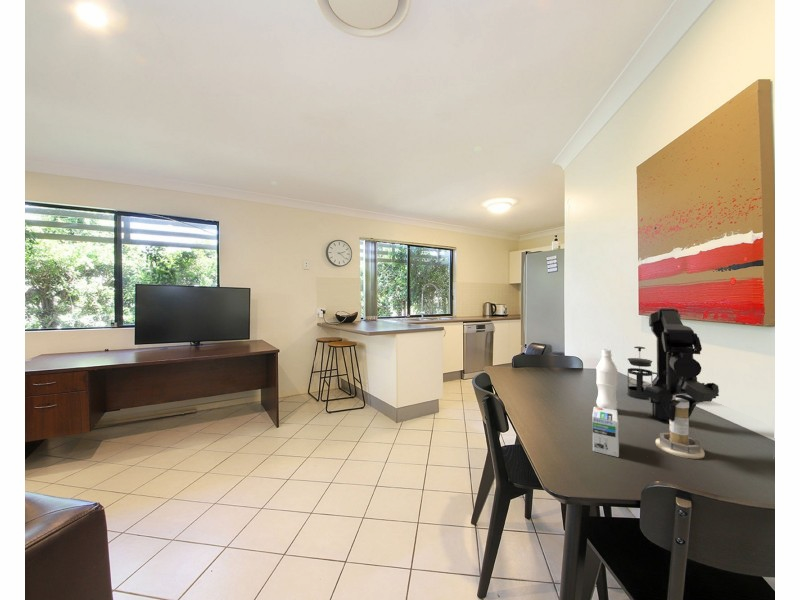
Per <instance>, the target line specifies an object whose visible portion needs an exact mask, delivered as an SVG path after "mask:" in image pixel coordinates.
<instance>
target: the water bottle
mask: <svg viewBox="0 0 800 600" xmlns="http://www.w3.org/2000/svg"><path fill="white" fill-rule="evenodd" d="M612 356H613V355H612V350H611V349H607V348H604V349H603V348H602V349H601V358H600V360H599V362H598V364H597V365H596V366H595V367H596V369H595V370H596V383H595V384H596V386H597V387H596V388H597V391H598V392H597V393H598V394H597V398H596V401H595V403H596V407H600V408H605V409H611V410H617V409H618V405H619V404H618V402H617V397H616V395H617V389H618V369H617V366H616V364H615V362H614V361H613V359H612ZM617 411H618V410H617Z"/></svg>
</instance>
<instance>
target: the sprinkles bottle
mask: <svg viewBox="0 0 800 600" xmlns="http://www.w3.org/2000/svg"><path fill="white" fill-rule="evenodd" d="M676 400H677V401H680V403H678V404H677V405H676V410H675V420H674V421H671V420H670V419H669V423H668V424H669V432H670V438H669V440H670V441H671V442H674V443H678V444H683V445H689V442H688V437H689V433H690V432H689V431H690V430H689V429H690V428H689V426H690V424H689V423H690V422H689V421H690V418H689V417H688V409H689V401H687V400H685V399H681V398H676Z"/></svg>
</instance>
